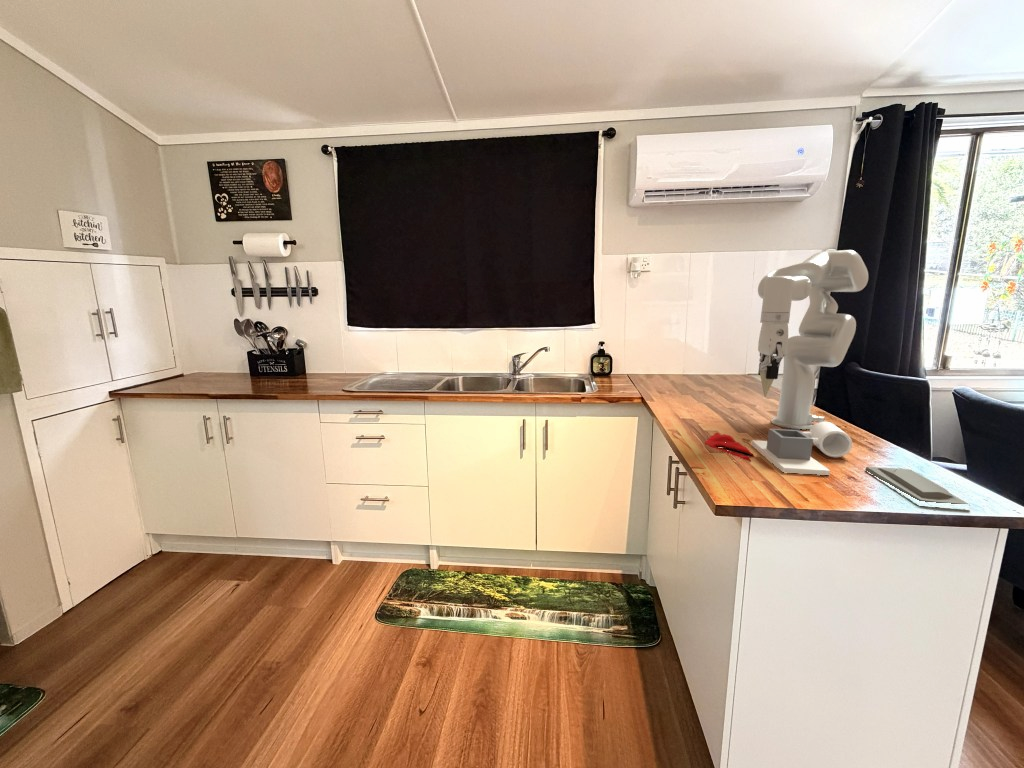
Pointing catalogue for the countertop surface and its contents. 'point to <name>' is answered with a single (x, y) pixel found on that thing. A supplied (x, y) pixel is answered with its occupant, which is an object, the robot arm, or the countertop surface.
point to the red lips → (728, 445)
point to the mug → (830, 439)
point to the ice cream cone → (765, 382)
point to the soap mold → (914, 485)
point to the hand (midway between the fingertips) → (767, 376)
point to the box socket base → (790, 452)
